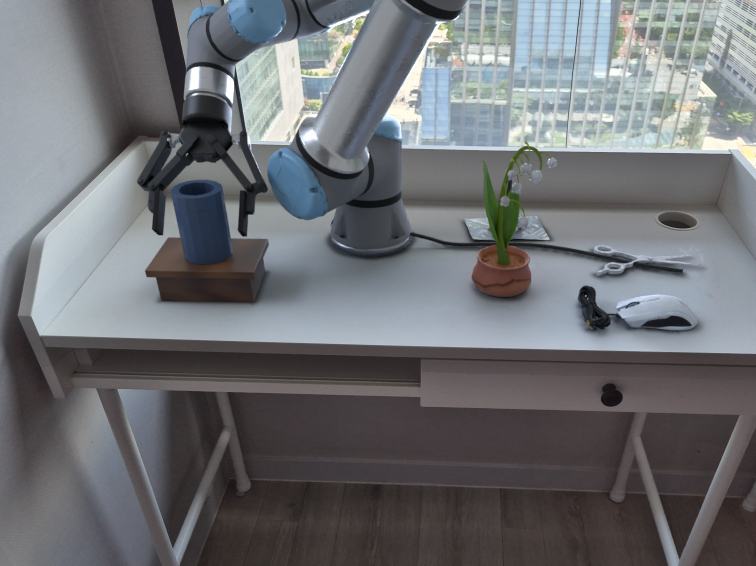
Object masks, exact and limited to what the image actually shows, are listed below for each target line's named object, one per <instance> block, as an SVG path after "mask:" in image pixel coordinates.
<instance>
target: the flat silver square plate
mask: <svg viewBox="0 0 756 566" xmlns="http://www.w3.org/2000/svg"><path fill="white" fill-rule="evenodd" d="M512 185H513V180H512V179H511V180H508V184H507V188H506V192H507V195H508V193H509V191H510V190H511V188H512ZM520 217H524V215H521V216H520V215H519V217H518V220H519V218H520ZM525 217H526V218H527V219H528V224H527V226H528V227H525V229H523V228H522V227H521V228H519V227H518V225H517V228H516V231H515V233H514V234H513V236H512V238H511V239H510V241H511V240H540V241H551V238H550V237H549V235H548V234H547V232H546V230H545V228H544V226H543V225H542V223H541V221H540V219H539V217H538V216H537V215H525ZM463 219H464V223H465V225H466V227H467V229H468V231H469V234H470V236H471V238H472V240H479V241H480V240H483V241H495V240H494V238H493V235H492V232H491V229H490V226H489V223H488V219H487V216H485V217H472V218H470V217H469V218H463ZM517 224H518V223H517Z"/></svg>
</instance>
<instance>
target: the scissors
mask: <svg viewBox="0 0 756 566" xmlns="http://www.w3.org/2000/svg"><path fill="white" fill-rule="evenodd" d="M593 253H597V254H602V255H607V256H611V257H613V256H619V257H624V258H628V259H629V260H631V261H632V262H630V263H620V262H616V261H611V262H608V263H606V264H605V265H604V267H603V269H601V270H597V271H596V276H599V277H600V276H603V275H605V274H609V275H621V274H623V273H624V271H625V269H626V268H632V267H633V266H634V265H633V263H634V262H639V263H644V264H649V263H659V264H674V265H686V266H687V265H688V266H701V264H699V263H692V262H684V261H676V260H670V259H677V258H684V257H689V256H692V254H679V255H678V254H676V255H660V256H658V255H657V256H648V255H640V254H634V253H633V254H632V253H628V252H626V251H620V250H619V251H618V250H617V249H615V248H614V247H611V246H608V245H596V246H594V247H593ZM611 268H616V269H611Z"/></svg>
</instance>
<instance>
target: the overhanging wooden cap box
mask: <svg viewBox="0 0 756 566" xmlns="http://www.w3.org/2000/svg"><path fill="white" fill-rule="evenodd" d="M231 242H232V250H233V252H232V255H231V256H230V257H229V258H227V259H226V260H224V261H221V262H218V263H213V264H194V263H191V262H189V261H187V260H186V259H185V257H184V252H183V248H182V243H181V238H180V237H170V236H169V237H166V239H165V241H164V243H162V245H161V246H160V248H159V250H158V251H157V252H156V254H155V255H154V257H153V258H152V260H151V261H150V263H149V264H148V265H147V267H146V269H145V270H144V273H145V277H146V278H155V280H156V285H157V288H158V292H159V297H160V301H162V302H214V303H215V302H218V303H221V302H223V303H254V302H255V300H256V297H257V294H258V292H259V289H260V287H261V284H262V283H263V280H264V277H265V276H266V275H265V274H266V268H265V260H264V257H265V255H266V253H267V250H268V249H269V245H270V243H269V239H268V238H237V237H235V238H233V237H231Z"/></svg>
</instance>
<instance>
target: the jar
mask: <svg viewBox="0 0 756 566" xmlns="http://www.w3.org/2000/svg"><path fill="white" fill-rule="evenodd" d="M223 188H224V187H223V186H222V183H220V182H218V181H217V180H211V179H193V180H188V181H187V180H186V181H183V182H180V183H177V184H176V185H173V186H172V188H171V189H170V196H171V201H172V204H173V205H172V206H173V209H174V210H173V211H174V214H175V219H176V223H177V228H178V229H177V230H178V233H179V238H181V243H182V248H183V252H184V257H185V259H186V260H187V261H189V262H191V263H194V264H213V263H218V262H221V261H224V260H226V259H227V258H229V257H230V256H231V255H232V252H233V250H232V242H231V238H232V236H231V231H230V225H229V218H228V211H227V207H226V201H225V195H224V189H223Z"/></svg>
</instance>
